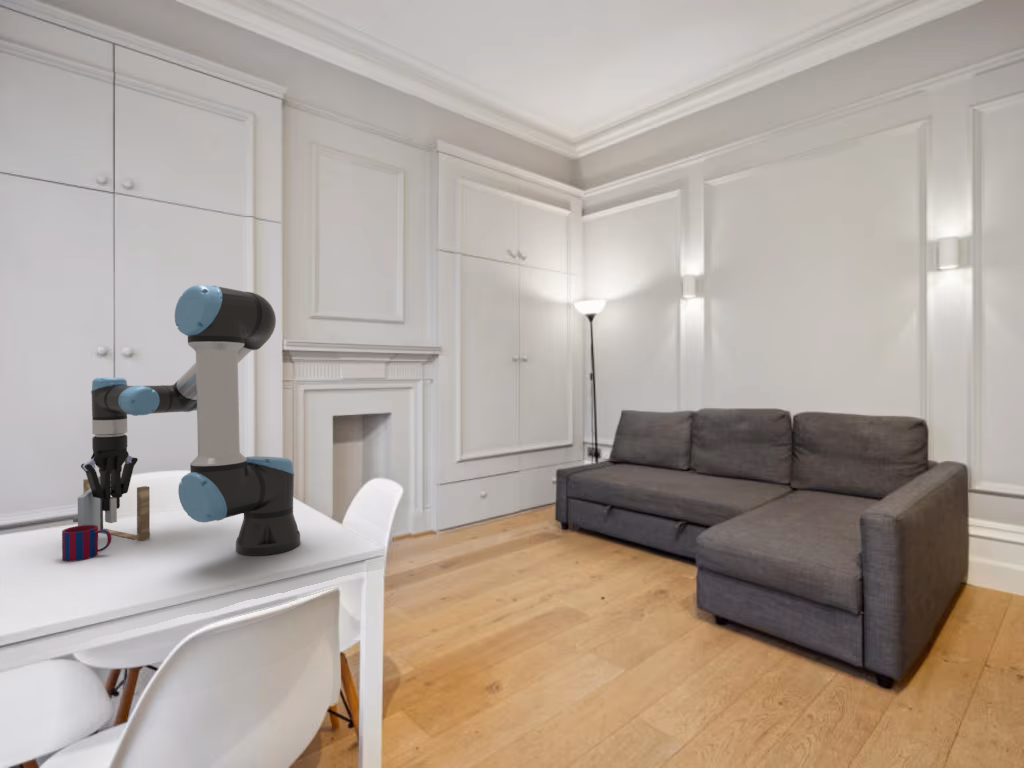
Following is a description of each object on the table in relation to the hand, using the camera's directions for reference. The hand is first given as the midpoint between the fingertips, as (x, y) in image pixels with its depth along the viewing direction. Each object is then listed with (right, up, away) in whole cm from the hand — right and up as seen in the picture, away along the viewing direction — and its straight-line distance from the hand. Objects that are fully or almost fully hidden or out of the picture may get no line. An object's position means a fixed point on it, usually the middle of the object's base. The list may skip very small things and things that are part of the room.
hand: (110, 521), depth 144 cm
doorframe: (-1, -4, +3) cm, 5 cm away
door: (-4, -4, -3) cm, 6 cm away
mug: (+6, -5, -15) cm, 17 cm away
